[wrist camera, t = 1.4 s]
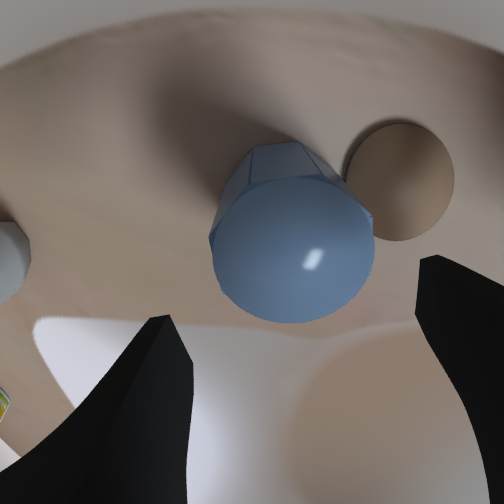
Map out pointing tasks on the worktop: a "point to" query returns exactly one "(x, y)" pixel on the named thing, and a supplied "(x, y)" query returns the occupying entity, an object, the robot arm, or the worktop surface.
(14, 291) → the salt shaker
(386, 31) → the worktop surface
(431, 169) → the disc
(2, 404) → the supplement bottle
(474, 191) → the worktop surface
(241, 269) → the cup
